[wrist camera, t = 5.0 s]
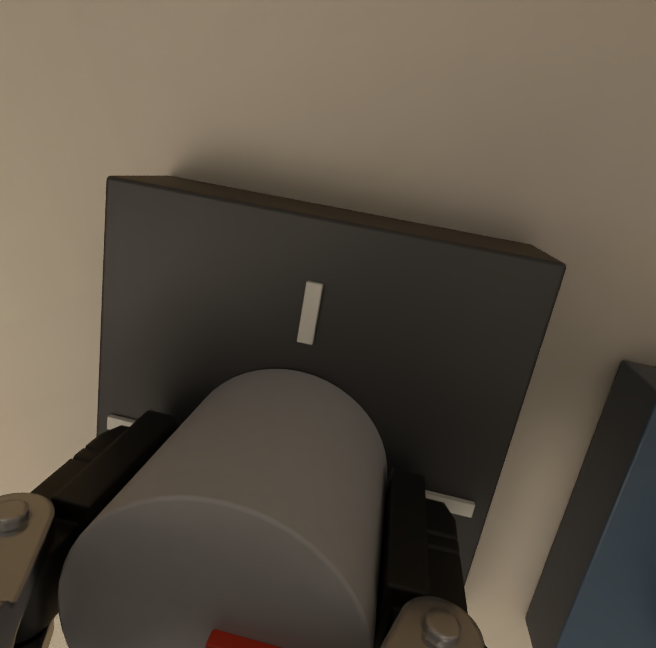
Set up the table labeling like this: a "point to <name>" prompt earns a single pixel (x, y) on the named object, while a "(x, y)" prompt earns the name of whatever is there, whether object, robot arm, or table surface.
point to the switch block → (607, 533)
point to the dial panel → (326, 321)
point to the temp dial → (240, 529)
